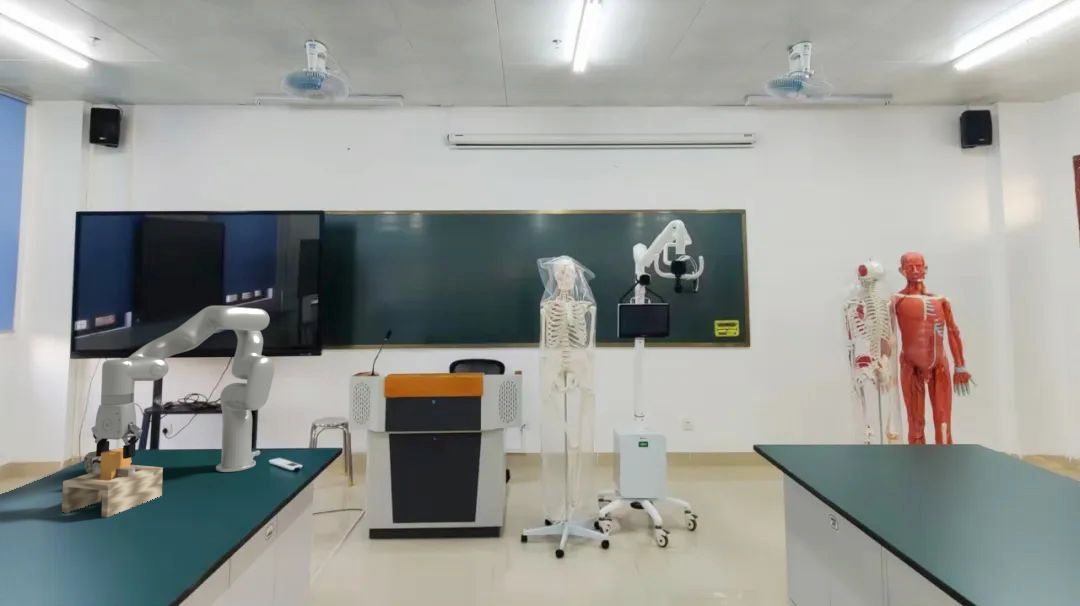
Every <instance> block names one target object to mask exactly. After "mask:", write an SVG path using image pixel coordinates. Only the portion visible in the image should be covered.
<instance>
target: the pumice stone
mask: <svg viewBox="0 0 1080 606" xmlns="http://www.w3.org/2000/svg"><path fill="white" fill-rule="evenodd" d="M110 450H111V449H109V451H110ZM94 457H97V456H96V450H95V451H89V452H88V453H87V454H85V456H84V458H83V462H84V469H85V472H86V473H87V474H89V473H92V464H90V463H91V460H92V458H94Z"/></svg>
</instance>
